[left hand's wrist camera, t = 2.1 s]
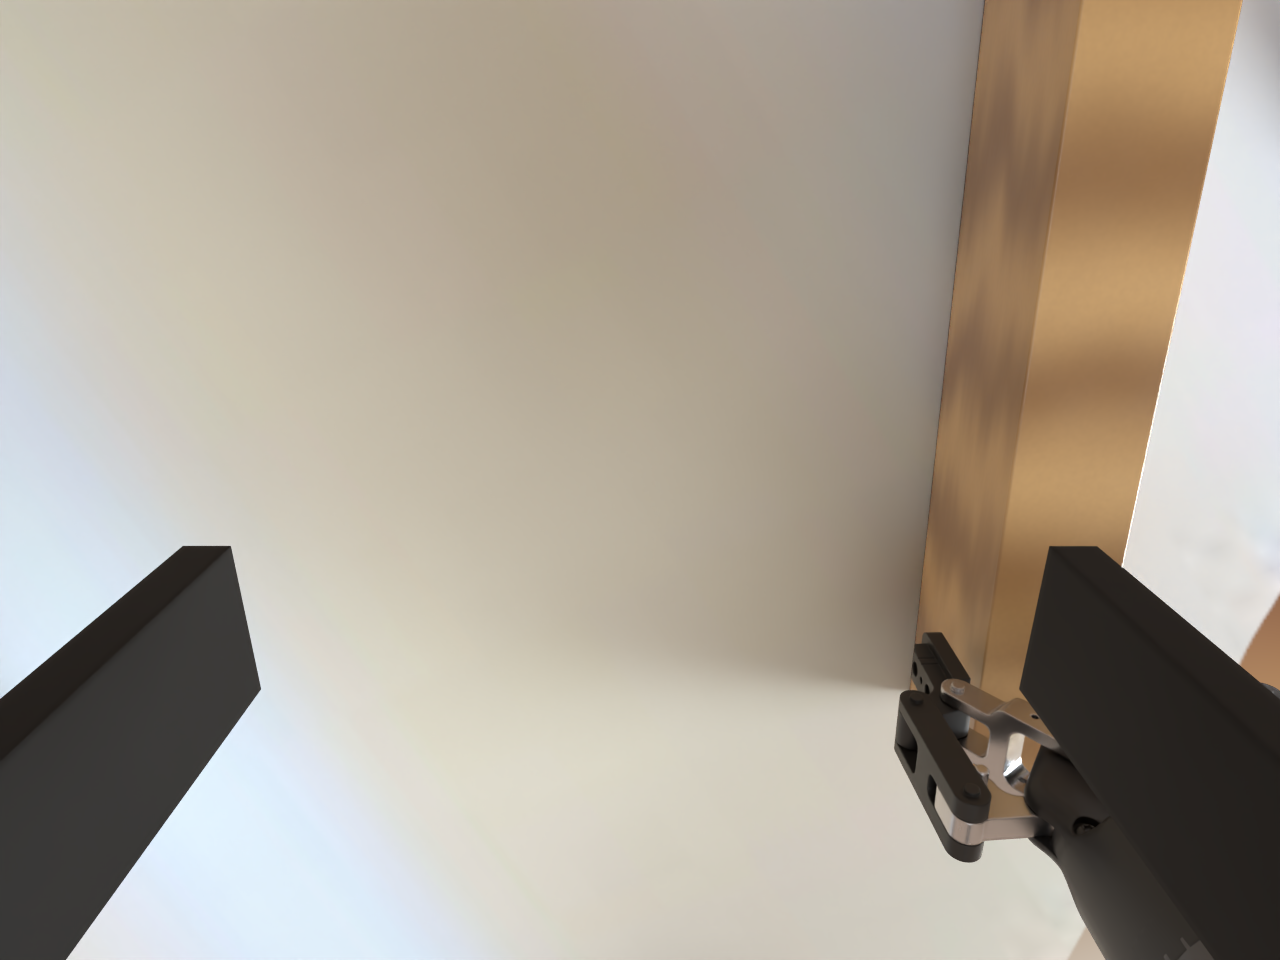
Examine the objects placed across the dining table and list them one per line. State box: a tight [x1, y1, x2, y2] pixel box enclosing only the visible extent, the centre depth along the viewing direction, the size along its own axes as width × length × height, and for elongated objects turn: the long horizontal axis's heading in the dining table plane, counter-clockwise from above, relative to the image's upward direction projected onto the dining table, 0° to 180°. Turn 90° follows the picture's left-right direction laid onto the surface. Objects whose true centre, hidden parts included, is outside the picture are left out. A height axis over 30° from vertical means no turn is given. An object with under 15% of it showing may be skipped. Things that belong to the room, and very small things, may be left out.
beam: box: [910, 0, 1243, 772], centre depth 30 cm, size 52×5×8 cm, turn 2°
